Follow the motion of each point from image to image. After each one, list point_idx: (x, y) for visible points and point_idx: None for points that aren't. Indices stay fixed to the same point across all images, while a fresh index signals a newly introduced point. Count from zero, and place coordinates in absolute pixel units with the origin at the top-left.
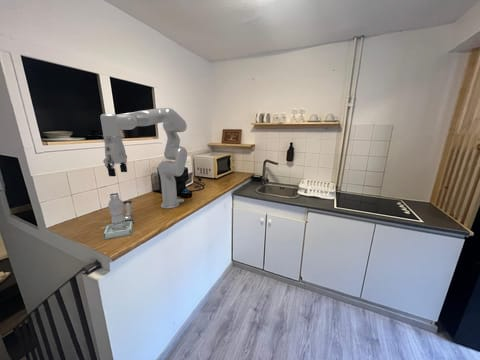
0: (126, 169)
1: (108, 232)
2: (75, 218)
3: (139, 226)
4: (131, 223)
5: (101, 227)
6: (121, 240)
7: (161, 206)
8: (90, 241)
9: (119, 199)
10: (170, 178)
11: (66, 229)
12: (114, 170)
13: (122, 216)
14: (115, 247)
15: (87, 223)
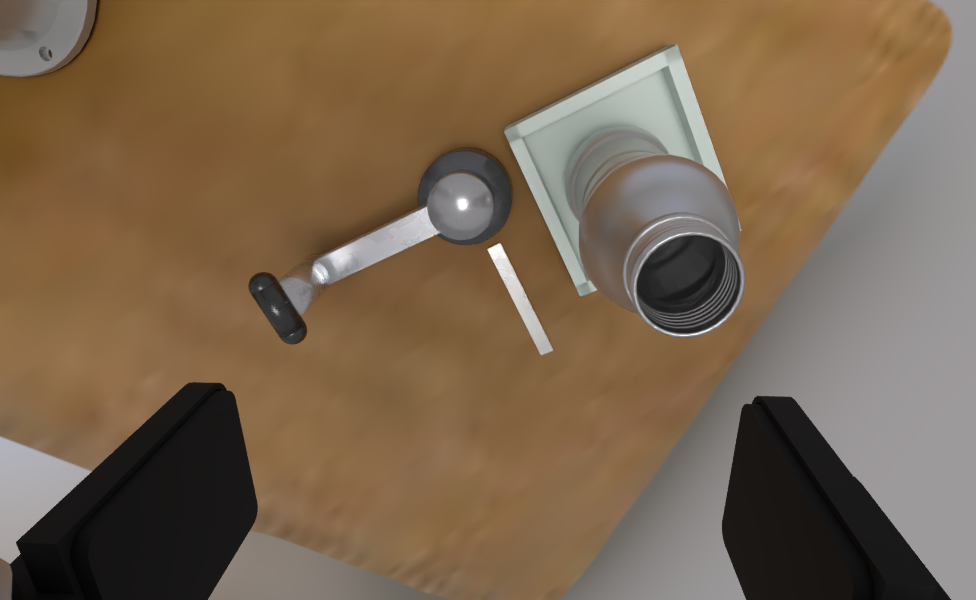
0: (172, 420)
1: None
2: (412, 582)
3: (512, 59)
4: (555, 107)
5: (542, 350)
6: (753, 78)
7: (75, 47)
8: None
9: (661, 203)
10: None
11: (565, 534)
12: (878, 511)
13: (641, 149)
14: (858, 62)
15: (478, 475)
